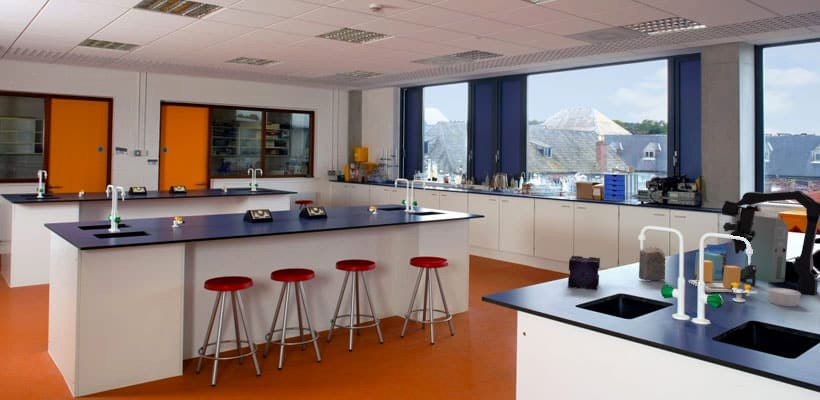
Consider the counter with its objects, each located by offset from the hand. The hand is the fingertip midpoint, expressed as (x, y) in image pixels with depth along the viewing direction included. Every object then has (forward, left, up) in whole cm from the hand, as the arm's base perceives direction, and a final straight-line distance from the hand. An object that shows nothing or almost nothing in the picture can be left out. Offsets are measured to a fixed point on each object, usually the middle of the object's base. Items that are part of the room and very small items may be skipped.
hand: (739, 252), depth 284 cm
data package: (+13, +2, -14) cm, 19 cm away
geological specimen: (+26, +30, -14) cm, 42 cm away
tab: (+7, +18, -12) cm, 23 cm away
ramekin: (-28, +26, -14) cm, 41 cm away
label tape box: (+22, -26, -14) cm, 37 cm away
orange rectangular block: (-6, +21, -12) cm, 26 cm away
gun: (-2, -4, -14) cm, 15 cm away
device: (-3, -21, -14) cm, 26 cm away
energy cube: (+37, +67, -14) cm, 78 cm away
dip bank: (0, +20, -14) cm, 24 cm away
